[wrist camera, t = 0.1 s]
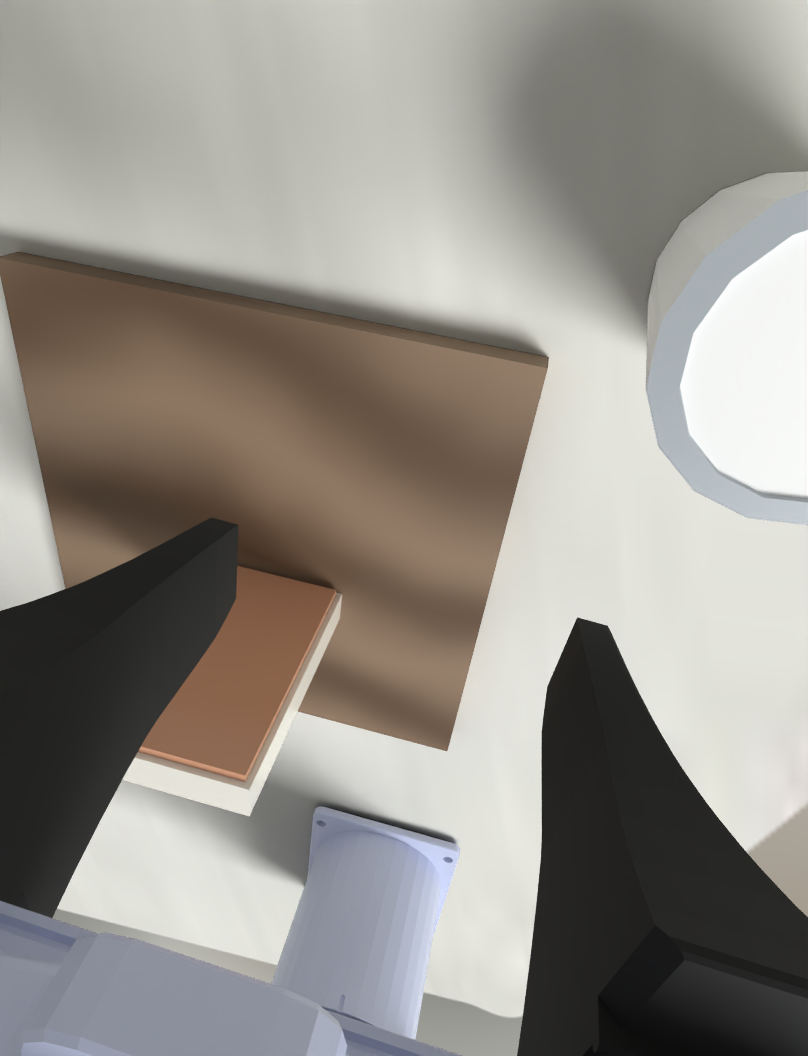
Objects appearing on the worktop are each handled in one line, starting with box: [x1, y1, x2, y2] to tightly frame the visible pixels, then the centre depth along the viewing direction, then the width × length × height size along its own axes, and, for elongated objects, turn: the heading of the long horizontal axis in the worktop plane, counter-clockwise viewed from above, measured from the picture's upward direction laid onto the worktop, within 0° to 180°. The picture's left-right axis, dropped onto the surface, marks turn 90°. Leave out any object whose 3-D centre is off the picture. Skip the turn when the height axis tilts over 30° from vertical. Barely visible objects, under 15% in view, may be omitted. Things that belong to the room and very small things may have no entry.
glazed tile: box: [122, 566, 342, 816], centre depth 23 cm, size 2×7×9 cm, turn 82°
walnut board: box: [0, 252, 549, 751], centre depth 26 cm, size 18×18×1 cm
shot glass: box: [646, 171, 808, 525], centre depth 15 cm, size 7×7×7 cm
